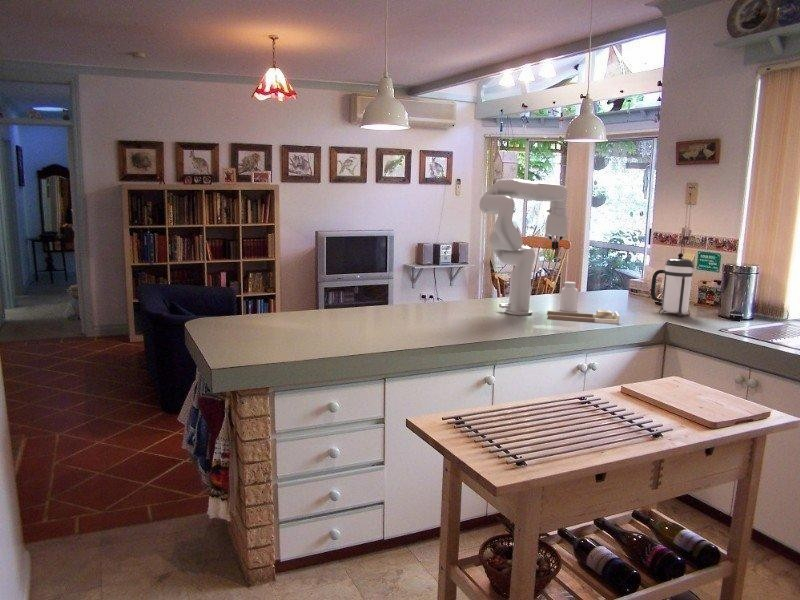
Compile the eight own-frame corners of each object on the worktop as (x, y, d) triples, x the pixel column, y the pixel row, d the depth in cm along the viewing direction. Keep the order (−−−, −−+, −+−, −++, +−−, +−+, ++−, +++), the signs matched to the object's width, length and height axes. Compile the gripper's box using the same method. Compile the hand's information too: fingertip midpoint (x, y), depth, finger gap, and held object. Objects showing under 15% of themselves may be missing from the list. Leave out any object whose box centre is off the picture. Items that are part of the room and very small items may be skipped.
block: (597, 320, 279) (598, 311, 278) (596, 318, 284) (596, 309, 284) (611, 321, 277) (612, 312, 277) (610, 319, 283) (610, 310, 283)
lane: (547, 322, 280) (548, 310, 279) (546, 317, 291) (547, 306, 291) (618, 327, 274) (619, 315, 273) (615, 322, 285) (616, 311, 285)
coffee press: (684, 311, 318) (690, 252, 313) (695, 318, 303) (702, 255, 298) (648, 310, 320) (654, 250, 315) (657, 316, 304) (664, 253, 299)
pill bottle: (557, 313, 301) (559, 282, 299) (561, 311, 308) (564, 280, 306) (574, 315, 298) (577, 283, 295) (578, 313, 305) (580, 282, 302)
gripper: (541, 211, 305) (539, 249, 308) (573, 212, 302) (570, 251, 305) (541, 211, 313) (539, 248, 316) (573, 212, 310) (570, 250, 313)
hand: (554, 249), depth 310 cm, fingers closed
